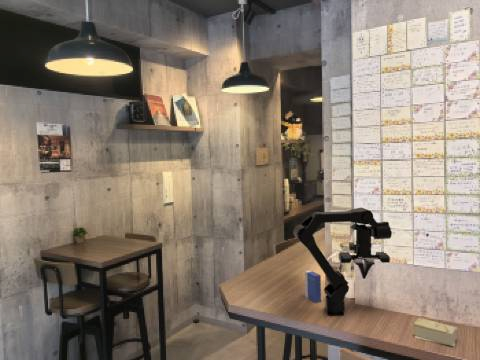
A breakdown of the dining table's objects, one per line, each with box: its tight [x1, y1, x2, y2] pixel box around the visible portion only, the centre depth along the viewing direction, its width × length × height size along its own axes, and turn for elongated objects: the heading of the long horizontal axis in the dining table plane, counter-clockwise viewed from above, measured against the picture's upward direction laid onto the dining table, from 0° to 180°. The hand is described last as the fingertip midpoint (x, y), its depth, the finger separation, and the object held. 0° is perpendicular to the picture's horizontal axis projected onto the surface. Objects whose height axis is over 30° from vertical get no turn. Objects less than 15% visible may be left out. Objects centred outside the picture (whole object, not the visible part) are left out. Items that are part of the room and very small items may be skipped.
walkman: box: [304, 270, 322, 304], centre depth 169 cm, size 8×3×12 cm, turn 25°
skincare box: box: [413, 317, 458, 347], centre depth 133 cm, size 6×4×12 cm
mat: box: [414, 335, 456, 347], centre depth 137 cm, size 12×14×1 cm
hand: (363, 278), depth 156 cm, fingers closed
